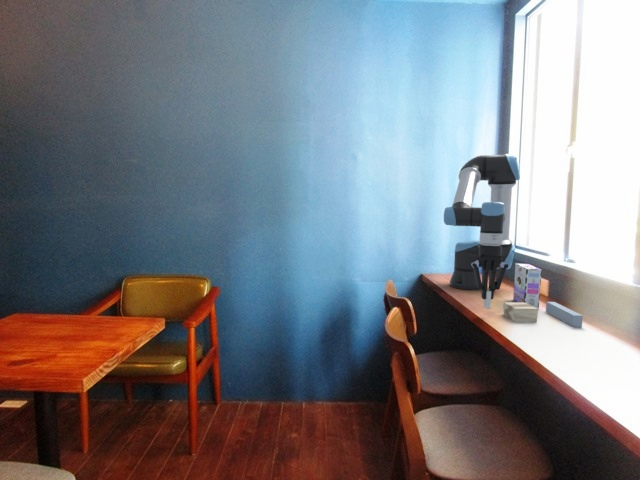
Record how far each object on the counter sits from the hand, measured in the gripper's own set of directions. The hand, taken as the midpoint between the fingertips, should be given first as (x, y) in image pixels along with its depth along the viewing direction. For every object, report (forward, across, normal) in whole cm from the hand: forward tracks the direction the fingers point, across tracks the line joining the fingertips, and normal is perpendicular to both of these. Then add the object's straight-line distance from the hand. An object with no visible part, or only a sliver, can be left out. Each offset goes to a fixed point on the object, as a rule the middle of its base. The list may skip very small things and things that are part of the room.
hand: (486, 307), depth 133 cm
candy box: (+4, +23, +19) cm, 30 cm away
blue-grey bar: (+4, +28, +1) cm, 28 cm away
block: (+4, +12, 0) cm, 13 cm away
